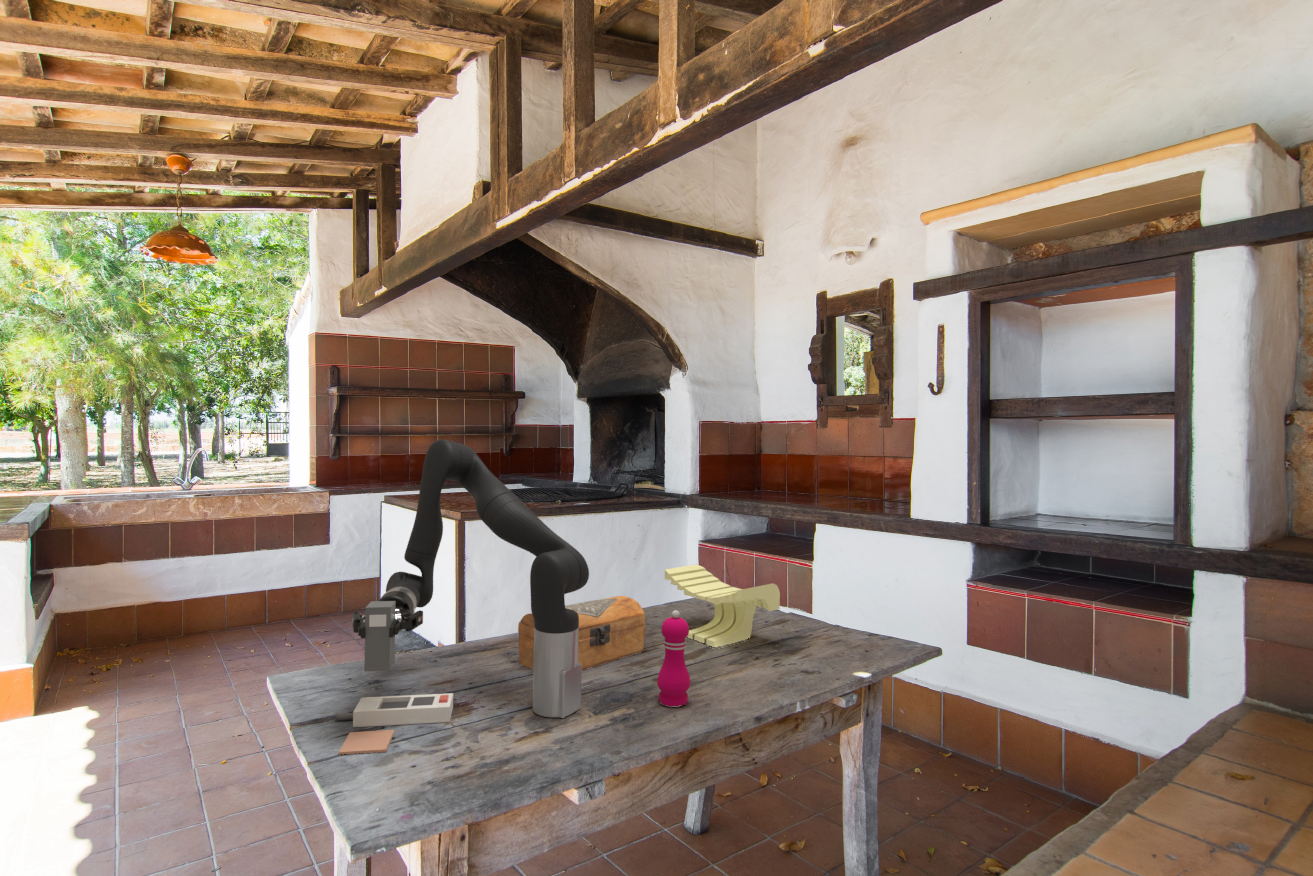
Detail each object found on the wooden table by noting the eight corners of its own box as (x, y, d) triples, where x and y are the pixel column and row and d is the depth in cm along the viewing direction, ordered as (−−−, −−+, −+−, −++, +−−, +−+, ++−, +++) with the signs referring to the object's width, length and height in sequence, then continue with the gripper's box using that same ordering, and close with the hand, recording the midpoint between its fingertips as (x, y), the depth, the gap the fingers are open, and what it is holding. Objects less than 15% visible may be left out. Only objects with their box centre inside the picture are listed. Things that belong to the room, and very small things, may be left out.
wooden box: (554, 682, 159) (555, 622, 159) (516, 662, 171) (517, 607, 171) (649, 654, 180) (650, 602, 180) (609, 639, 192) (610, 590, 192)
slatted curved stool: (778, 646, 189) (780, 581, 189) (739, 657, 178) (740, 589, 178) (702, 620, 212) (703, 563, 211) (663, 629, 201) (664, 569, 201)
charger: (394, 662, 134) (395, 601, 133) (389, 670, 129) (390, 607, 129) (370, 663, 133) (371, 601, 133) (364, 671, 128) (365, 607, 128)
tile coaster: (394, 732, 131) (394, 729, 131) (386, 752, 123) (386, 749, 123) (349, 734, 130) (349, 732, 130) (338, 755, 122) (338, 752, 122)
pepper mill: (666, 711, 144) (669, 616, 144) (650, 698, 150) (653, 608, 150) (696, 705, 147) (698, 613, 147) (679, 693, 154) (681, 604, 153)
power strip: (453, 707, 143) (453, 690, 143) (449, 722, 136) (449, 704, 136) (340, 713, 139) (340, 695, 139) (330, 728, 132) (331, 709, 132)
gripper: (360, 591, 144) (336, 613, 127) (431, 589, 146) (417, 611, 129) (359, 626, 144) (336, 654, 127) (430, 624, 146) (416, 651, 129)
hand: (377, 632), depth 128 cm, fingers closed on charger, 4 cm apart
